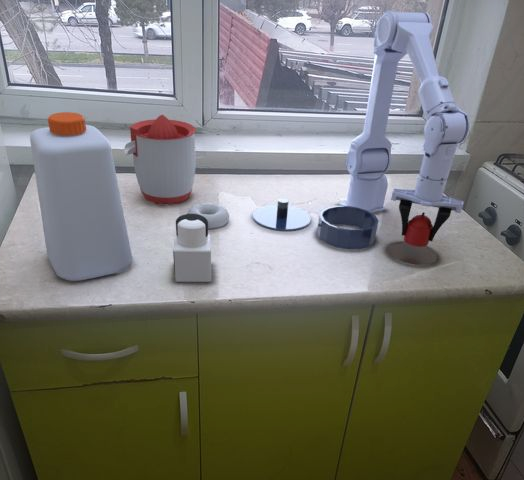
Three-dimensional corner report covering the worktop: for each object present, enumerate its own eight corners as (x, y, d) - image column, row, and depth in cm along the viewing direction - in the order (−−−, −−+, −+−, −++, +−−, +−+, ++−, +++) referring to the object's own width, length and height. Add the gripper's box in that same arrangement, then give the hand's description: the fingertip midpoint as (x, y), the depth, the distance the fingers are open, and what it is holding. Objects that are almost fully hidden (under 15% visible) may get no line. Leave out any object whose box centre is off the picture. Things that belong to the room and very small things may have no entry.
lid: (290, 204, 133) (291, 185, 130) (321, 227, 124) (324, 207, 121) (242, 213, 127) (242, 194, 124) (271, 238, 118) (273, 217, 115)
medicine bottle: (176, 264, 106) (173, 209, 99) (211, 264, 107) (210, 210, 99) (174, 282, 101) (171, 225, 93) (211, 282, 101) (210, 226, 94)
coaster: (412, 239, 122) (413, 237, 121) (447, 260, 115) (447, 258, 114) (377, 248, 117) (378, 246, 117) (411, 270, 110) (411, 268, 110)
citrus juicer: (124, 188, 135) (114, 107, 122) (188, 183, 141) (185, 104, 128) (135, 213, 124) (126, 126, 111) (204, 206, 130) (203, 122, 117)
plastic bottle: (44, 252, 107) (11, 108, 89) (116, 239, 113) (98, 102, 95) (61, 287, 97) (26, 133, 79) (138, 271, 103) (123, 125, 85)
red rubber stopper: (416, 233, 117) (423, 205, 112) (433, 244, 113) (441, 215, 109) (398, 238, 114) (405, 209, 110) (415, 248, 111) (423, 219, 107)
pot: (350, 221, 128) (353, 202, 125) (385, 244, 119) (390, 224, 116) (305, 231, 122) (308, 211, 119) (340, 256, 113) (343, 235, 110)
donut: (181, 229, 119) (223, 234, 118) (180, 215, 117) (222, 220, 116) (194, 211, 127) (233, 216, 126) (193, 198, 125) (233, 203, 123)
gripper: (395, 175, 103) (381, 237, 112) (469, 188, 100) (449, 251, 108) (399, 164, 108) (386, 224, 117) (470, 176, 105) (451, 237, 114)
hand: (416, 236), depth 113 cm, fingers closed on red rubber stopper, 5 cm apart
